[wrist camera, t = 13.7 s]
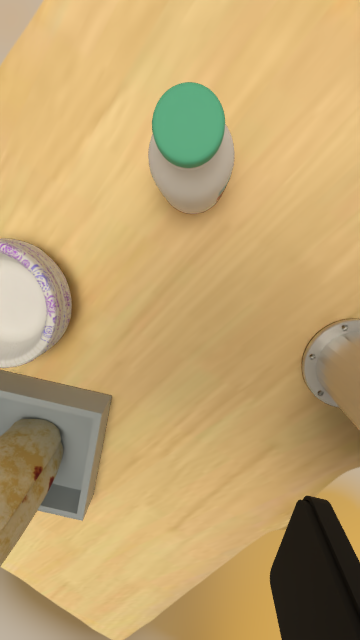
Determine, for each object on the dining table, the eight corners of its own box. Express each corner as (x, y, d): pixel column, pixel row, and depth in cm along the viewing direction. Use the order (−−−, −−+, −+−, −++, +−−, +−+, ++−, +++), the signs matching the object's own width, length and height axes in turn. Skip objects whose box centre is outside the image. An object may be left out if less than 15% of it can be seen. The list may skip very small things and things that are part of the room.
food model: (7, 428, 48) (-122, 555, 29) (35, 401, 47) (-82, 516, 27) (55, 469, 49) (-38, 618, 30) (83, 445, 48) (5, 583, 29)
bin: (111, 395, 46) (101, 413, 42) (93, 494, 51) (82, 520, 46) (-8, 368, 46) (-32, 383, 42) (-16, 469, 51) (-38, 493, 46)
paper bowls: (-49, 285, 44) (-102, 295, 36) (27, 214, 41) (-13, 207, 33) (27, 367, 46) (-7, 393, 39) (104, 305, 43) (83, 319, 36)
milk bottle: (201, 226, 40) (205, 214, 21) (150, 191, 39) (103, 144, 20) (237, 170, 38) (278, 99, 19) (183, 132, 37) (168, 18, 18)
